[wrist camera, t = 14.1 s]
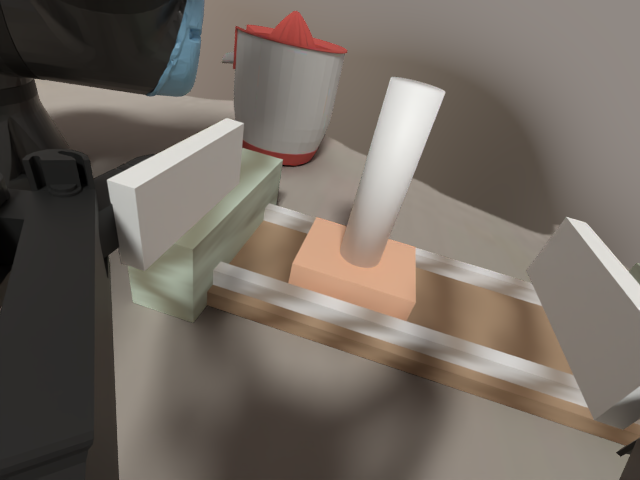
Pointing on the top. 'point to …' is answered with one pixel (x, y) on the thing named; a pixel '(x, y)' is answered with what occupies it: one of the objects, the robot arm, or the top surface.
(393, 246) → the carriage
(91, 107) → the top surface
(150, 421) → the top surface
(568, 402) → the rail
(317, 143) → the citrus juicer
